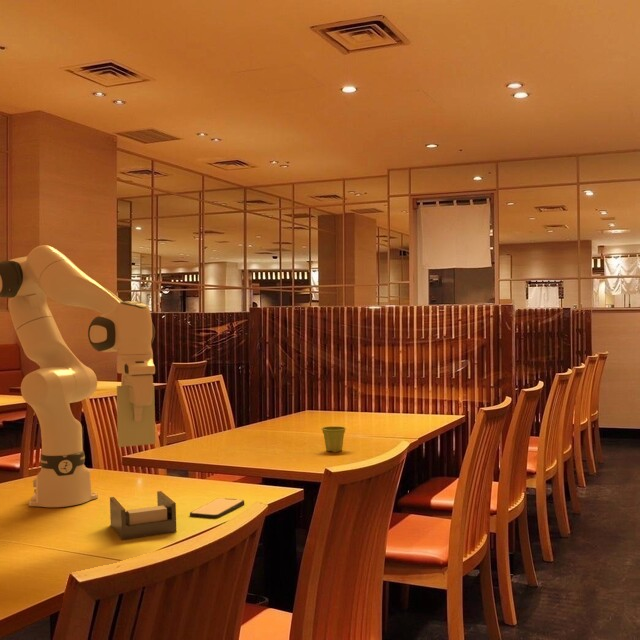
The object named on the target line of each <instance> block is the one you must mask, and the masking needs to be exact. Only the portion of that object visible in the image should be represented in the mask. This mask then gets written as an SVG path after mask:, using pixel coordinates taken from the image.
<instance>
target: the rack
mask: <svg viewBox="0 0 640 640" xmlns="http://www.w3.org/2000/svg"><path fill="white" fill-rule="evenodd" d="M156 494H157V495H156V496H157V497H156V499H157V506H163V505H164V506H165V507H166V508H167V520H162V521H155V522H148V523H141V524H134V525H127V511H126V509H125V507H123V505H122V504H121V503H120V502H119V500H117V498H116V497H115V496H110V497H109V513H110V515H109V517H110V526H111V527H112V529H113V530H114V532H115V533H116V534H117V535H118V537H119V538H120V539H121V541H126V540H131V539H138V538H139V539H140V538H144V537H145V538H146V537H151V536H153V537H154V536H159V535H166V534H171V533H177V531H178V530H177V505H176V502H175V501H174V500H172V499H171V497H169V496H168V495H166V494H165V493H164V492H163V491H162V490H158V491H157V492H156Z"/></svg>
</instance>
